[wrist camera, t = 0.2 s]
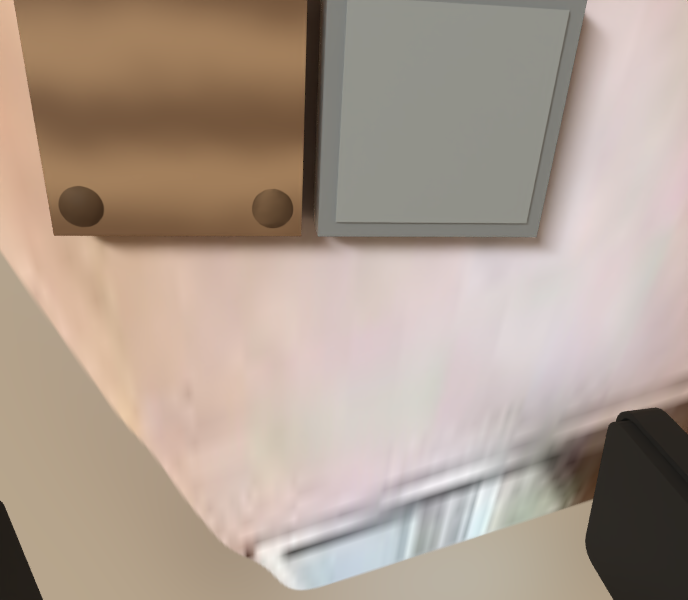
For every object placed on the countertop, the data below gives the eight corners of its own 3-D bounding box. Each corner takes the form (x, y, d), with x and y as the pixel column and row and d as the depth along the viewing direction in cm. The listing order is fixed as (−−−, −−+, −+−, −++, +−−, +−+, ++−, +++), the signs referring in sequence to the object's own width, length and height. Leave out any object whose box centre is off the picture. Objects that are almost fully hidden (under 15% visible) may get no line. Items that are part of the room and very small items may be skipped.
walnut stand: (26, -47, 30) (5, -50, 28) (303, -28, 33) (308, -29, 30) (68, 217, 37) (53, 235, 34) (297, 219, 39) (301, 236, 36)
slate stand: (321, -27, 33) (328, -28, 30) (563, -10, 35) (591, -10, 32) (313, 219, 39) (318, 237, 36) (518, 221, 41) (538, 238, 38)
